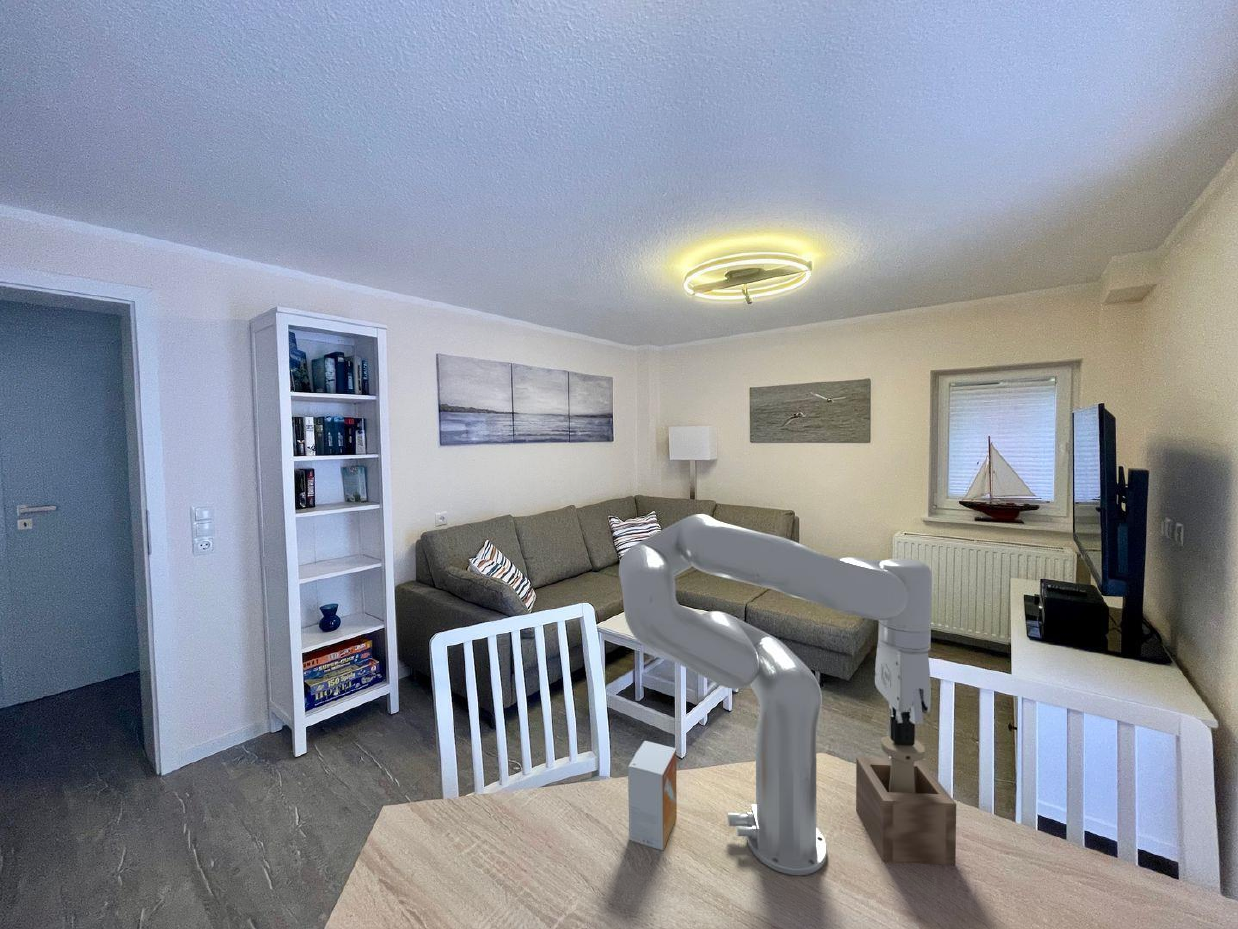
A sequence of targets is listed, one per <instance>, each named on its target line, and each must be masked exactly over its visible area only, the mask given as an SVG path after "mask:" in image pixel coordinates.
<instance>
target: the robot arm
mask: <svg viewBox="0 0 1238 929" xmlns="http://www.w3.org/2000/svg"><path fill="white" fill-rule="evenodd" d="M692 567H693V568H694V569H696V570H698V571H700V572H702V573H706V574H708V575H712V576H716V577H721V578H724V579H729V580H733V581H736V582H742V583H745V584H748V585H754V586H757V587H762V588H765V589H770V590H772V591H773V590H774V591H777V592H779V593H782V594H785V595H787V596H790V597H793V598H797V599H801V600H804V601H806V602H809V603H813V604H815V605H819V606H822V607H824V608H828V609H831V610H834V611H837V612H841V613H845V614H849V615H853V616H856V617H861V618H866V619H870V620H875V621H878V634H877V635H878V636H877V637H878V638H877V639H878V640H877V648H876V653H875V654H876V655H875V656H876V657H875V668H874V671H875V672H874V684H875V687H876V689H877V690H878V692H879V693H880V694H881V695H882V697H884V699H885V700H886V701H887V702H888V708H889V710H888V711H889V714H890V724H889V725H890V726H889V727H890V731H889V732H890V734H889V736H890V738H891V739H892V741H893V742H894V743H895V744H896V745H911V746H912V745H914V744H915V740H916V739H915V738H916V736H915V734H916V725H923V724H924V715H923V713H924V714H928V713H929V712H930V709H931V699H932V696H931V695H932V692H931V688H932V687H931V672H930V668H931V667H930V660H929V652H928V651H930V650H931V634H932V633H931V631H932V630H931V623H932V622H931V620H932V578H933V577H932V576H933V575H932V571H931V569H930V567H929V565H927V564H926V563H924V562H922V561H918V560H914V559H910V558H909V559H907V558H889V559H885V560H882V559H881V560H879V559H871V558H870V559H869V558H862V557H853V556H849V557H842V558H837V557H836V558H835V557H832V556H831V555H830V556H829V555H827V554H824V553H822V552H818V551H817V550H814V549H812V548H810V547H808V546H806V545H803V544H802V543H799V542H796V541H794V540H791V539H788V538H785V537H783V536H782V537H781V536H778V535H774V534H769V533H764V532H762V531H761V532H760V531H756V530H754V529H753V530H752V529H748V528H744V527H741V526H739V525H738V526H737V525H734V524H730V523H725V522H723V521H719V520H716V519H715V518H714V517H712V516H710V515H708V514H704V513H700V514H699V513H698V514H693V515H689V516H686V517H685V518H682V519H681V520H678V521H676V522H675V523H673V524H671V525H669V526H668V527H666V528H664V529H662V530H660V531H658V532H656V533H655V534H652V535H650V536H649V537H647V538H645V539H643V540H641V541H639V542H637V543H636V544H634V545H633V546H630V547H629V548H628V549H627V550H626V551H625V552H624V553H623V555H622V557H621V559H620V561H619V565H618V575H619V579H620V580H619V581H620V585H621V592H622V601H623V611H624V617H625V622H626V624H627V628H628V629H629V631H630V633H631V634H632V635H633V637H634V638H635V639H636V640H637V641H638V642H639V643H640V644H641V645H643V646H644V647H646V648H647V649H649V650H651V651H653V652H654V653H657V654H658V655H661V657H665V658H666V659H669V660H671V661H672V662H674V663H676V664H677V665H678V664H679V665H680V666H682V667H684V668H685V669H688V670H689V671H692V672H694V673H695V674H697V675H699V676H702V677H703V678H706V679H707V680H710V681H711V682H712V683H715V684H717V685H719V686H721V687H724V688H727V689H733V690H734V689H735V690H737V689H743V688H746V687H748V686H749V687H750V688H751V690H752V692H753V693H754V694H755V696H756V698H757V700H758V703H759V715H758V718H757V723H756V728H755V804H751V811H749V810H748V811H746V812H745V813H739V812H727V822H728V824H727V825H728V827H736V828H737V832H736V833H737V836H738V837H746V840H747V845H748V847H749V848H750V850H751V852H752V853H753V854H754V856H755V857H756V858H757V859H758V860H759V861H760V862H761V863H763V864H764V865H766V866H767V867H769V868H771V870H773V871H774V870H775V871H777V872H779V873H781V874H786V875H789V876H790V875H792V876H804V875H805V876H806V875H809V874H813V873H815V872H817V871H819V870H821V869H822V867H823V866H824V864H825V863H826V860H827V856H828V853H827V852H828V851H827V849H828V848H827V843H826V840H825V837H824V835H823V834H822V833H821V831H820V830H819V829H818V828H817V739H818V726H819V721H820V716H821V712H822V706H823V705H822V704H823V696H822V690H821V686H820V684H819V682H818V680H817V678H816V676H815V675H814V673H813V672H812V671H811V669H810V668H809V667H808V666H807V665H806V664H805V663H804V662H803V661H802V660H801V659H800V658H799V657H798V656H797V655H796V654H795V653H794V652H793V651H792V650H791V649H790V648H789V647H788V646H787V645H786V644H785V643H783V642H782V641H781V640H779V639H778V638H776V637H775V636H773V635H772V634H769V633H767V632H765V631H763V630H761V629H760V628H757V627H755V626H753V625H751V624H749V623H747V622H745V621H743V620H741V619H739V618H737V617H736V616H734V615H731V614H729V613H727V612H723V611H719V610H717V611H716V610H715V611H711V610H710V611H707V612H704V613H702V614H700V613H699V612H697V611H695V610H693V609H691V608H688V607H684V606H682V605H681V604H679V602H678V601H677V600H678V599H677V598H676V597H677V596H676V578H675V577H676V576H677V575H680V574H682V573H683V572H685V571H687V570H689V569H691V568H692Z"/></svg>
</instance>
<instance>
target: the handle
mask: <svg viewBox="0 0 1238 929" xmlns="http://www.w3.org/2000/svg"><path fill="white" fill-rule="evenodd" d="M880 745H881V746H880V747H881V750H882V752H884V754H886V755H887V756H888V757H889V758H891V772H890V784H889V792H894V793H915V781H914V762H915V761H919V760H921V761H922V760H924V758H925V756H926V750H925V749H926V748H925V746H924V745H923V744H922V743H921V742H920V741H919V740H916V739H915V744H914V745H912V746H911V745H896V744H895V743H894V742H893V741H892V739H891V738H890V735H887V736H882V737H881V739H880Z"/></svg>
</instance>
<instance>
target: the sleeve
mask: <svg viewBox="0 0 1238 929" xmlns="http://www.w3.org/2000/svg"><path fill="white" fill-rule="evenodd" d="M855 759H856V760H855V761H856V762H855V764H856V765H855V767H856V768H855V769H856V772H855V779H856V780H855V791H856V792H855V795H856V796H855V811H856V813H857V816H858V817H859V819H860V821H861V823H862V825H863V826H864V829H865V830H866V832H867V834H868V836H869V838H870V840H871V842H872V844H873V845H874V848H875V849H876V851H877V853H878V855H879V856H880V858H881V860H882V862H888V863H890V862H891V863H904V864H906V863H908V864H930V865H948V866H956V864H957V863H956V860H957V859H956V856H957V855H956V852H957V851H956V848H957V844H956V843H957V803H956V801H955V800H954V799H953V798H952V796H951V795H950V794H949V793H948V791H947V790H946V789H945V788H944V786H943V785H942V784H941V783H940V781H939V780H937V778H936V777H935V775H934V774H933V773H932V772H931V770H930V769H929V768H928V767H927V766H926V765H925V763H924V762H923V760H922V759H921V760H919V761H915V762H914V781H915V793H894V792H889V784H890V772H891V757H865V756H863V757H861V756H860V757H859V756H856V758H855Z"/></svg>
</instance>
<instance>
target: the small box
mask: <svg viewBox="0 0 1238 929" xmlns="http://www.w3.org/2000/svg"><path fill="white" fill-rule="evenodd" d="M627 770H628V771H627V772H628V773H627V774H628V775H627V779H628V780H627V782H628V783H627V787H628V792H627V793H628V795H627V796H628V840H629V841H632V842H634V843H638V844H641V845H644V846H647V847H650V848H652V849H653V848H654V849H657V850H660V851H664V849H665V847H666V844H667V843H668V838H669V836H670V834H671V832H672V830H673V827H674V825H675V822H676V820H677V817H678V814H677V813H678V812H677V810H678V808H677V807H678V806H677V804H678V803H677V802H678V800H677V798H678V797H677V796H678V795H677V793H678V792H677V790H678V789H677V787H678V786H677V748H676V747H671V746H667V745H663V744H660V743H656V742H652V741H647V740H644V741H643V742H642V743H641V745H640V747H639V748H638V749H637V751H636V752H635V754H634V756H633V758H632V760H631V761H630V762H629V764H628V767H627Z"/></svg>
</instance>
